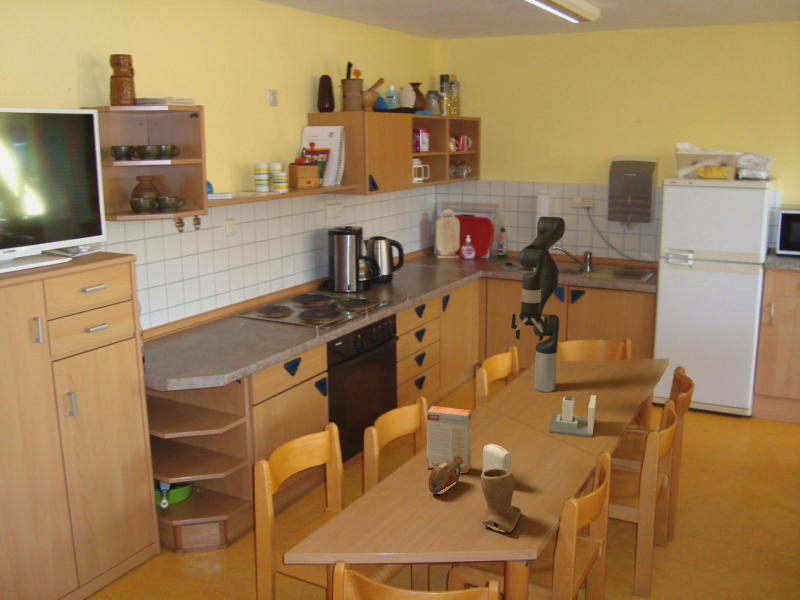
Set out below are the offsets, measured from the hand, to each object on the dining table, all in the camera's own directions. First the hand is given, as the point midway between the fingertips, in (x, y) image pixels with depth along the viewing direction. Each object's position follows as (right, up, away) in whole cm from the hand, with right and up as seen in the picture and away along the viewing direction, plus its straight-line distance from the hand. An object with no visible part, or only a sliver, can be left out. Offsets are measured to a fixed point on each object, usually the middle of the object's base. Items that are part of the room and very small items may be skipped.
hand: (529, 339), depth 307 cm
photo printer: (-20, -44, -53) cm, 72 cm away
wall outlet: (+15, -33, -8) cm, 37 cm away
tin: (-37, -45, -59) cm, 82 cm away
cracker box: (-35, -41, -44) cm, 70 cm away
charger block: (+13, -32, -8) cm, 35 cm away
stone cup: (-22, -49, -78) cm, 95 cm away
